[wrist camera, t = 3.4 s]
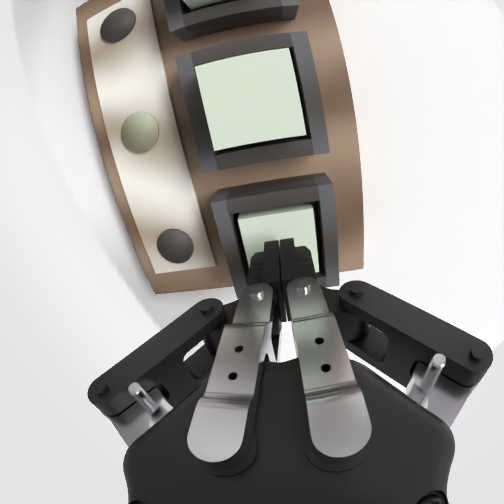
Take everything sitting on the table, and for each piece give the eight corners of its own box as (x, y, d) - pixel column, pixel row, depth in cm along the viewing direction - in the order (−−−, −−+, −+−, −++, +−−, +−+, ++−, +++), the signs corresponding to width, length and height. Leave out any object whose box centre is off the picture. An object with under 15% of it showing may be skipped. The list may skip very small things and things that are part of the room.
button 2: (241, 206, 16) (237, 219, 14) (308, 196, 15) (313, 208, 14) (254, 262, 18) (252, 280, 16) (314, 254, 17) (319, 272, 16)
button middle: (205, 72, 11) (194, 66, 9) (286, 56, 10) (288, 47, 9) (222, 145, 13) (214, 150, 11) (301, 131, 12) (306, 134, 10)
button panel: (93, 14, 11) (55, 3, 7) (301, -46, 9) (308, -81, 5) (164, 276, 23) (144, 314, 18) (354, 251, 20) (373, 289, 16)
